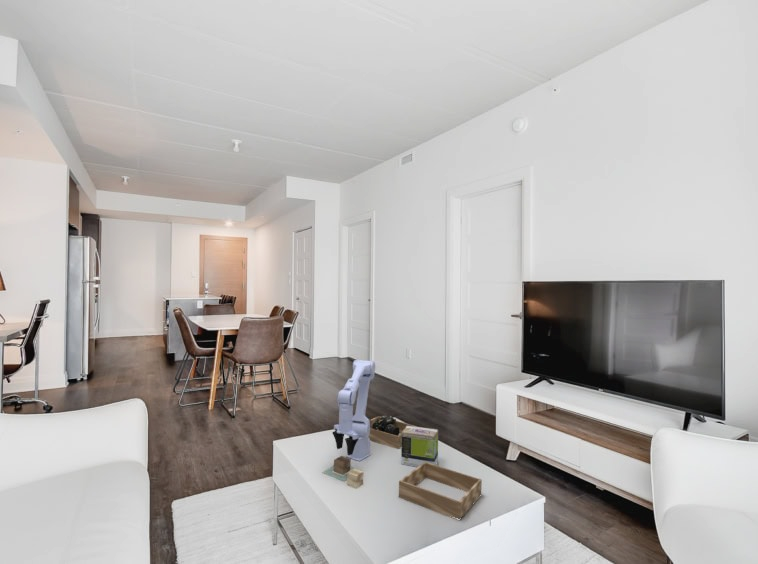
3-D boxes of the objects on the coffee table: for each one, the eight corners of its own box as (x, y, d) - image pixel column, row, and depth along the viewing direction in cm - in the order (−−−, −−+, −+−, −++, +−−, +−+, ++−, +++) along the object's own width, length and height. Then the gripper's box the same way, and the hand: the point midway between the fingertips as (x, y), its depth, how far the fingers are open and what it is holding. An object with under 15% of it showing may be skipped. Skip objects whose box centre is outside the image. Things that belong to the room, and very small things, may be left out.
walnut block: (341, 467, 171) (341, 455, 171) (350, 470, 168) (350, 458, 168) (333, 471, 167) (334, 459, 167) (342, 475, 164) (343, 463, 164)
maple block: (354, 480, 160) (354, 468, 160) (363, 484, 158) (363, 471, 158) (347, 485, 156) (347, 472, 157) (356, 488, 154) (356, 476, 154)
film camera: (391, 444, 196) (392, 424, 197) (369, 440, 202) (369, 420, 202) (404, 433, 212) (405, 414, 213) (383, 429, 218) (384, 411, 218)
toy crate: (424, 476, 166) (424, 461, 166) (481, 495, 152) (481, 479, 152) (398, 497, 149) (399, 481, 149) (459, 520, 135) (460, 503, 135)
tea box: (438, 461, 180) (439, 428, 180) (433, 470, 171) (434, 436, 171) (406, 455, 185) (407, 424, 185) (400, 464, 176) (401, 431, 176)
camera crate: (378, 426, 222) (378, 416, 222) (416, 437, 208) (416, 426, 208) (358, 436, 206) (358, 425, 206) (397, 449, 192) (398, 436, 192)
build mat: (340, 462, 176) (340, 462, 176) (361, 470, 169) (361, 469, 169) (321, 472, 166) (321, 472, 166) (343, 481, 159) (343, 480, 159)
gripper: (328, 416, 169) (327, 447, 168) (348, 425, 158) (347, 459, 157) (341, 413, 173) (340, 444, 173) (362, 422, 162) (361, 455, 162)
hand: (344, 451), depth 166 cm, fingers open, 7 cm apart
